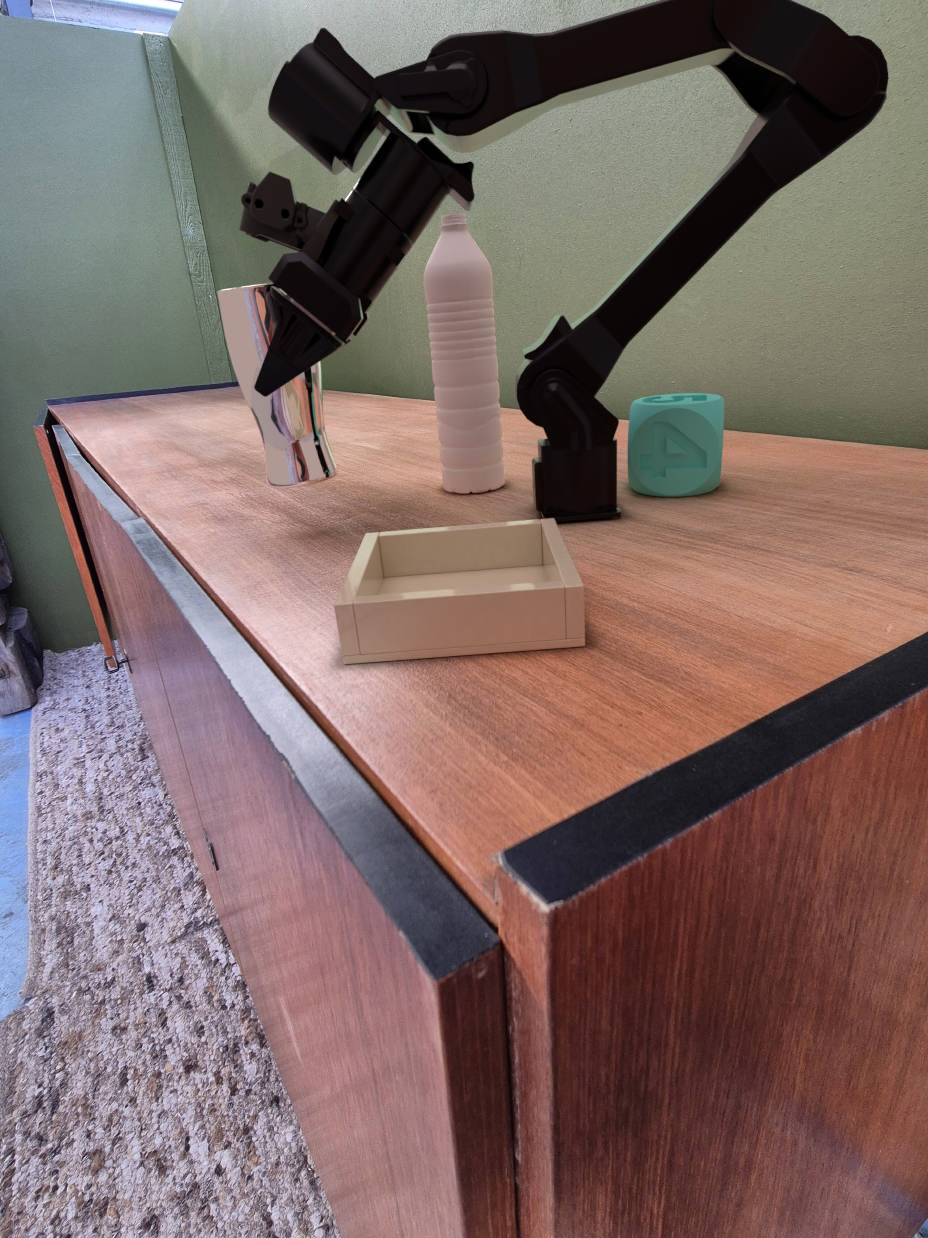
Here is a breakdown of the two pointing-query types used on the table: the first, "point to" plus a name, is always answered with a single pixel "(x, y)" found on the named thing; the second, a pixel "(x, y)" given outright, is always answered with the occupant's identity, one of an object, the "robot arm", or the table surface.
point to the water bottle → (464, 360)
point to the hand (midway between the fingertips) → (267, 388)
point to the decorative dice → (675, 444)
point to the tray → (460, 593)
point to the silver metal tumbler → (277, 393)
